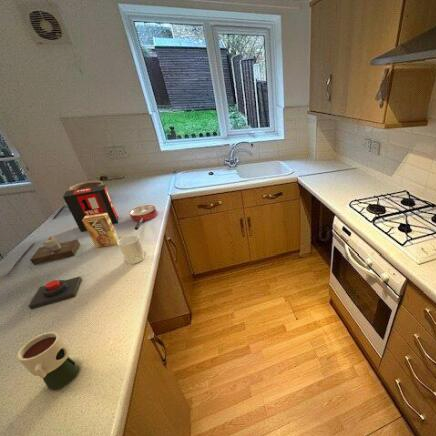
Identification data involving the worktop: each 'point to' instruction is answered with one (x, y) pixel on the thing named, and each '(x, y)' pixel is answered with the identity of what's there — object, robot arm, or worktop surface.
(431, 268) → the worktop surface
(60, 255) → the base
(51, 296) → the button block
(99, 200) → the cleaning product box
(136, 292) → the worktop surface
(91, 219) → the candy box
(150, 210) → the frying pan
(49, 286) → the button
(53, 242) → the tap knob
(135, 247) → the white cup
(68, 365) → the character mug
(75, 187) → the cooking pot
